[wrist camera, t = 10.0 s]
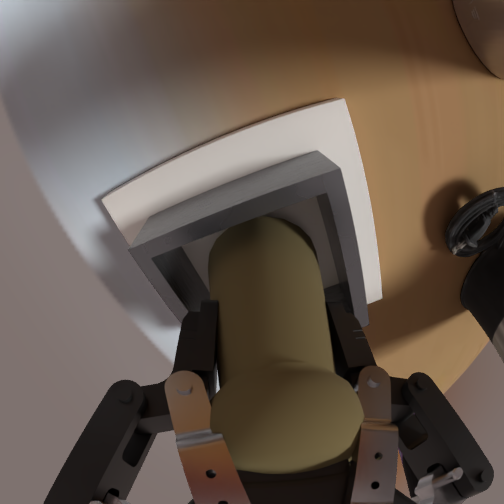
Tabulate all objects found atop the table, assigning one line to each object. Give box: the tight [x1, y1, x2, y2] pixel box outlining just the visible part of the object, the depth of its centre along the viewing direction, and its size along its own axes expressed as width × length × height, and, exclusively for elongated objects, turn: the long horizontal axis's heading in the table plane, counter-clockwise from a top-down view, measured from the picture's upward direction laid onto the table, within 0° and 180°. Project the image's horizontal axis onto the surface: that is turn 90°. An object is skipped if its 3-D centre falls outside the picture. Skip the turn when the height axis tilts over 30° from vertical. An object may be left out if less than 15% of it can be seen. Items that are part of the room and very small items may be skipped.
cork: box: [208, 216, 365, 474], centre depth 10 cm, size 6×6×11 cm
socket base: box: [102, 98, 382, 304], centre depth 17 cm, size 14×14×1 cm
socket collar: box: [128, 150, 369, 327], centre depth 15 cm, size 10×10×4 cm
